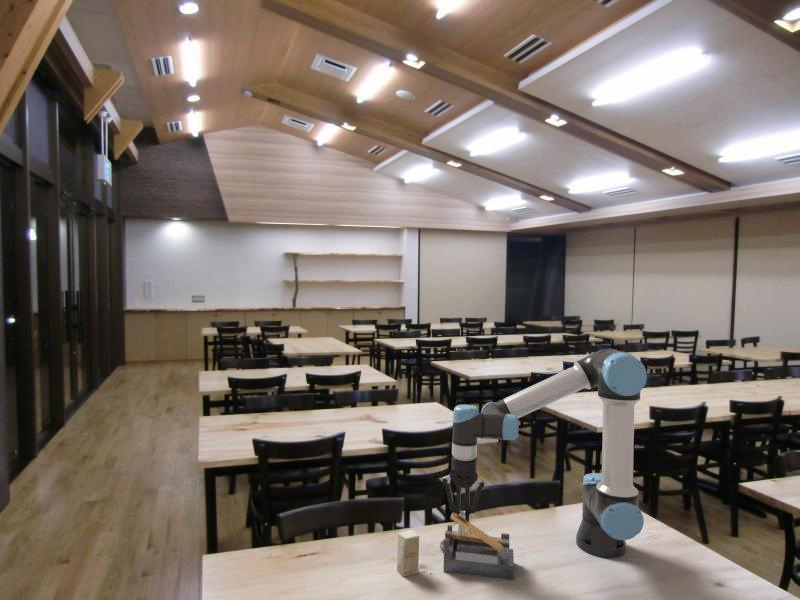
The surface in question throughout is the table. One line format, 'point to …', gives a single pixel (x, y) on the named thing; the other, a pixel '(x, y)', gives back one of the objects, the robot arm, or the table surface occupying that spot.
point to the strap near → (477, 532)
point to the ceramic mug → (455, 528)
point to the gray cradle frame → (482, 560)
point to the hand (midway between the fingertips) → (461, 533)
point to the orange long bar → (470, 537)
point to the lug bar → (449, 544)
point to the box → (408, 553)
